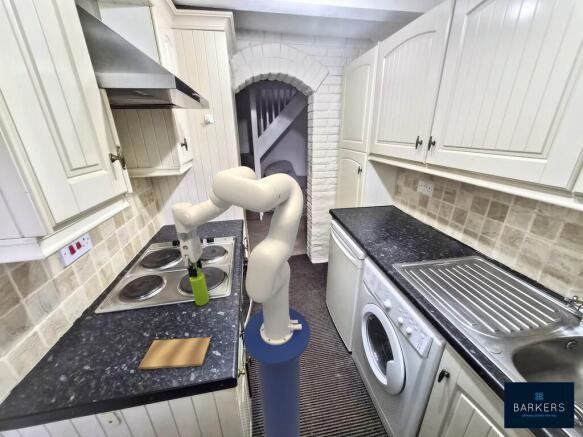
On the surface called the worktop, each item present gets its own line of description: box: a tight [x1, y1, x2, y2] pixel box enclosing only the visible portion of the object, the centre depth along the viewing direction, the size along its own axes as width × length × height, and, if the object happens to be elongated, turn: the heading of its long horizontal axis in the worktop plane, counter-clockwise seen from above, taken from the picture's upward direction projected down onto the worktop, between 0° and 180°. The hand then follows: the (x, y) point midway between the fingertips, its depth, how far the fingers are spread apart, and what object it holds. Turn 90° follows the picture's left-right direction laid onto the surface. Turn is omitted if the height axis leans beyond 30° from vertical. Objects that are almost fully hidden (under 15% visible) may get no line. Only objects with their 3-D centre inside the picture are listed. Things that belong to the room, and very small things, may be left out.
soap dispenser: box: [188, 260, 210, 307], centre depth 98 cm, size 6×7×20 cm
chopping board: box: [138, 336, 212, 370], centre depth 78 cm, size 20×10×1 cm, turn 93°
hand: (196, 271), depth 96 cm, fingers closed on soap dispenser, 5 cm apart
